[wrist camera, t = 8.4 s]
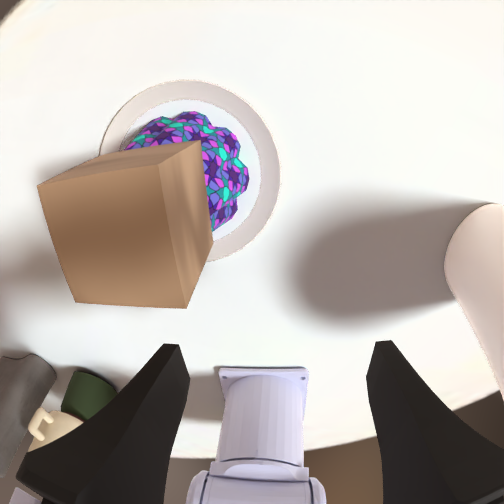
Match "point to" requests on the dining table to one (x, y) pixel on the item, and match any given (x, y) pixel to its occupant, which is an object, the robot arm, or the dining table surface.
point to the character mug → (71, 409)
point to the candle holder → (481, 280)
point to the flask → (20, 400)
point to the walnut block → (132, 225)
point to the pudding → (209, 152)
